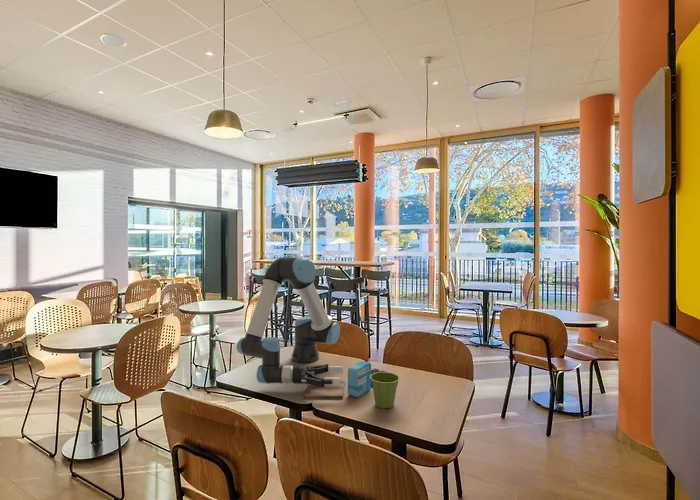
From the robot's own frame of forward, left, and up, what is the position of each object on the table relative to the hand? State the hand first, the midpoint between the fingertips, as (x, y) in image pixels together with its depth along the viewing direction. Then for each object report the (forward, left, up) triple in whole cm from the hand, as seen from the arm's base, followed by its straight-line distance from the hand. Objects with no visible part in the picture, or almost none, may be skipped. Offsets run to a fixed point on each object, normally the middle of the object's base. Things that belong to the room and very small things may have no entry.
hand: (341, 375), depth 155 cm
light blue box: (+1, +8, -7) cm, 11 cm away
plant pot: (+13, +18, -7) cm, 23 cm away
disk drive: (-14, +15, -8) cm, 22 cm away
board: (0, -7, -7) cm, 10 cm away
